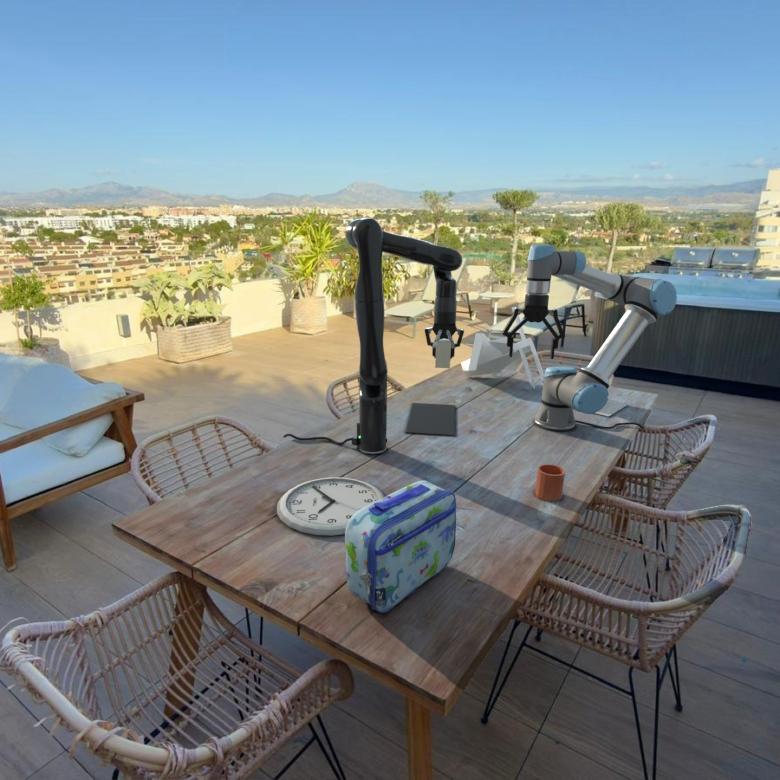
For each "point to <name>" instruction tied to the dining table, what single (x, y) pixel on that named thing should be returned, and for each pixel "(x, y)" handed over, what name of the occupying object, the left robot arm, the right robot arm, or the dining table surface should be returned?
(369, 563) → the lunch box
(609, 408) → the invitation card
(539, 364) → the white plastic object
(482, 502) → the dining table surface
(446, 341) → the cream beam
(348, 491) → the wall clock
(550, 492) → the terracotta pot
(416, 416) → the dark rubber mat
